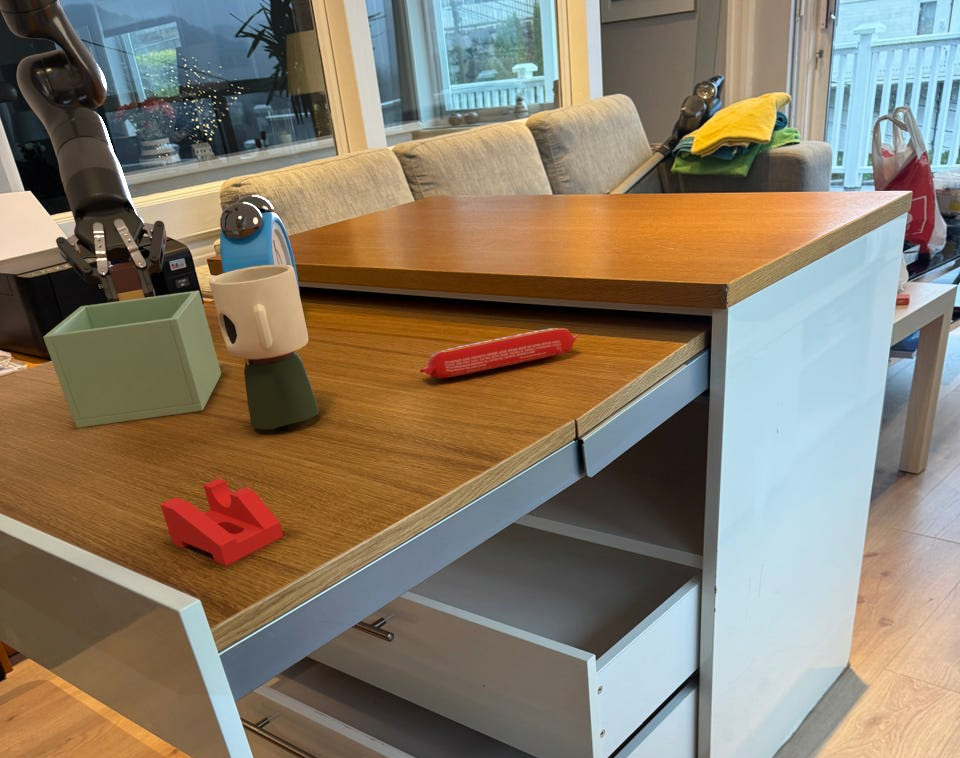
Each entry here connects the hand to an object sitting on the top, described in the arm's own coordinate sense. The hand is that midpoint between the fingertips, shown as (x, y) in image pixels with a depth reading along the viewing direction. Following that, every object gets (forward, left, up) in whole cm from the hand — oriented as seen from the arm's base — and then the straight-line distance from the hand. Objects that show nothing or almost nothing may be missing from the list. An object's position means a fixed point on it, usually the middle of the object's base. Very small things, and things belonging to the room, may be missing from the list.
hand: (133, 302), depth 111 cm
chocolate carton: (-1, +2, -5) cm, 5 cm away
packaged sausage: (+49, -19, -5) cm, 53 cm away
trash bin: (+13, -23, -5) cm, 27 cm away
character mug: (+31, -32, -5) cm, 45 cm away
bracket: (+35, -55, -5) cm, 66 cm away
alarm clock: (+17, +2, -5) cm, 18 cm away
